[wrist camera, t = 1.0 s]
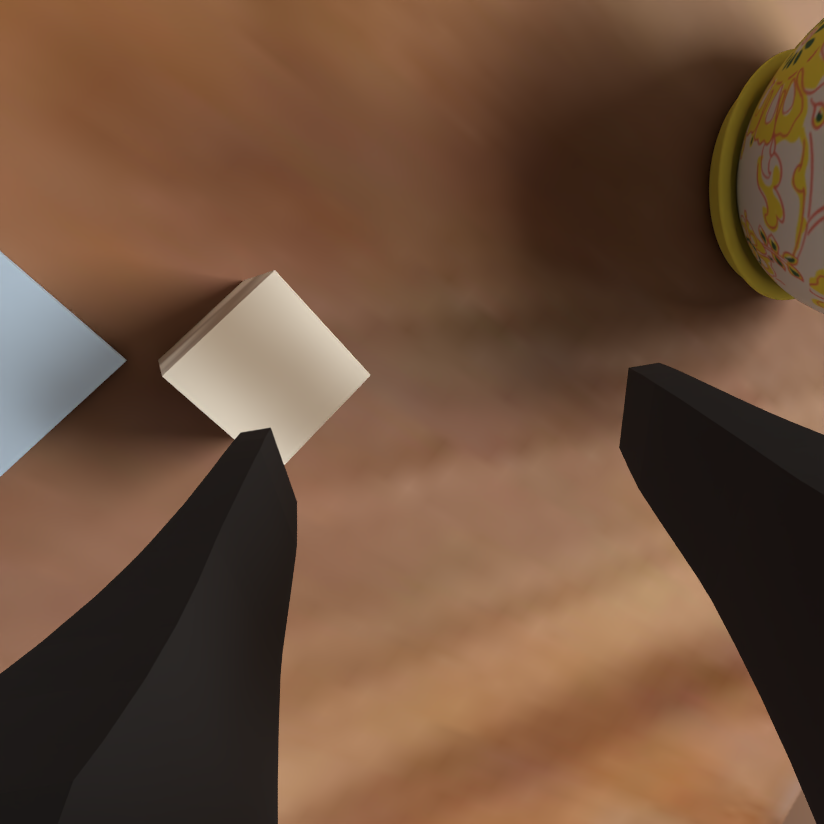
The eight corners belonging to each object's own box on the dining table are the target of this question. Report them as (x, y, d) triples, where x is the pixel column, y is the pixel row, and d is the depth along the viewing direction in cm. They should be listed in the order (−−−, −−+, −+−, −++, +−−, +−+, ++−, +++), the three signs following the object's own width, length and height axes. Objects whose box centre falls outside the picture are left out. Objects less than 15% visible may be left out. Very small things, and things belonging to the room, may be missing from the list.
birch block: (244, 436, 23) (274, 474, 17) (158, 360, 21) (161, 376, 16) (320, 361, 24) (370, 375, 18) (243, 280, 22) (274, 270, 16)
